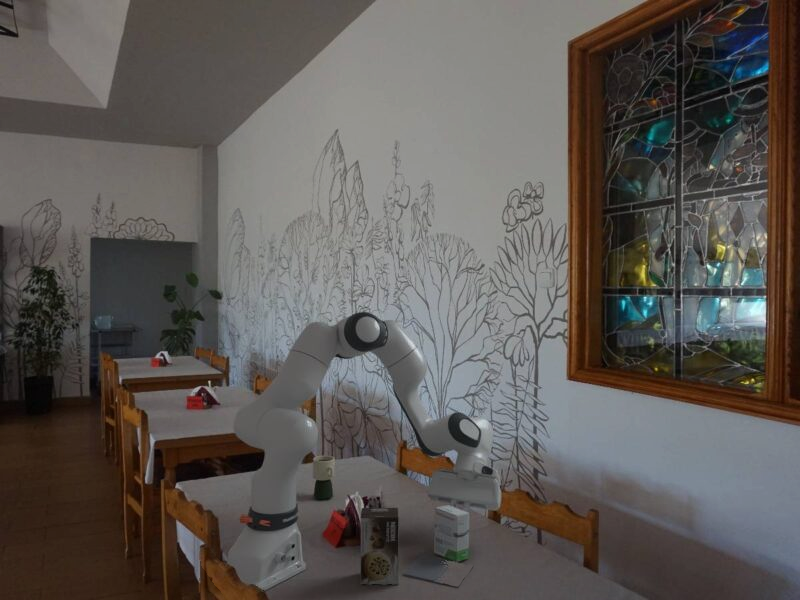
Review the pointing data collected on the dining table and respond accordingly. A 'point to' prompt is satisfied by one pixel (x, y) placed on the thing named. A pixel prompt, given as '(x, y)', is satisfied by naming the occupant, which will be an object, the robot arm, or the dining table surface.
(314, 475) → the character mug
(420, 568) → the felt mat
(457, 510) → the ink box
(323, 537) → the dining table surface
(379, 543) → the coffee box
